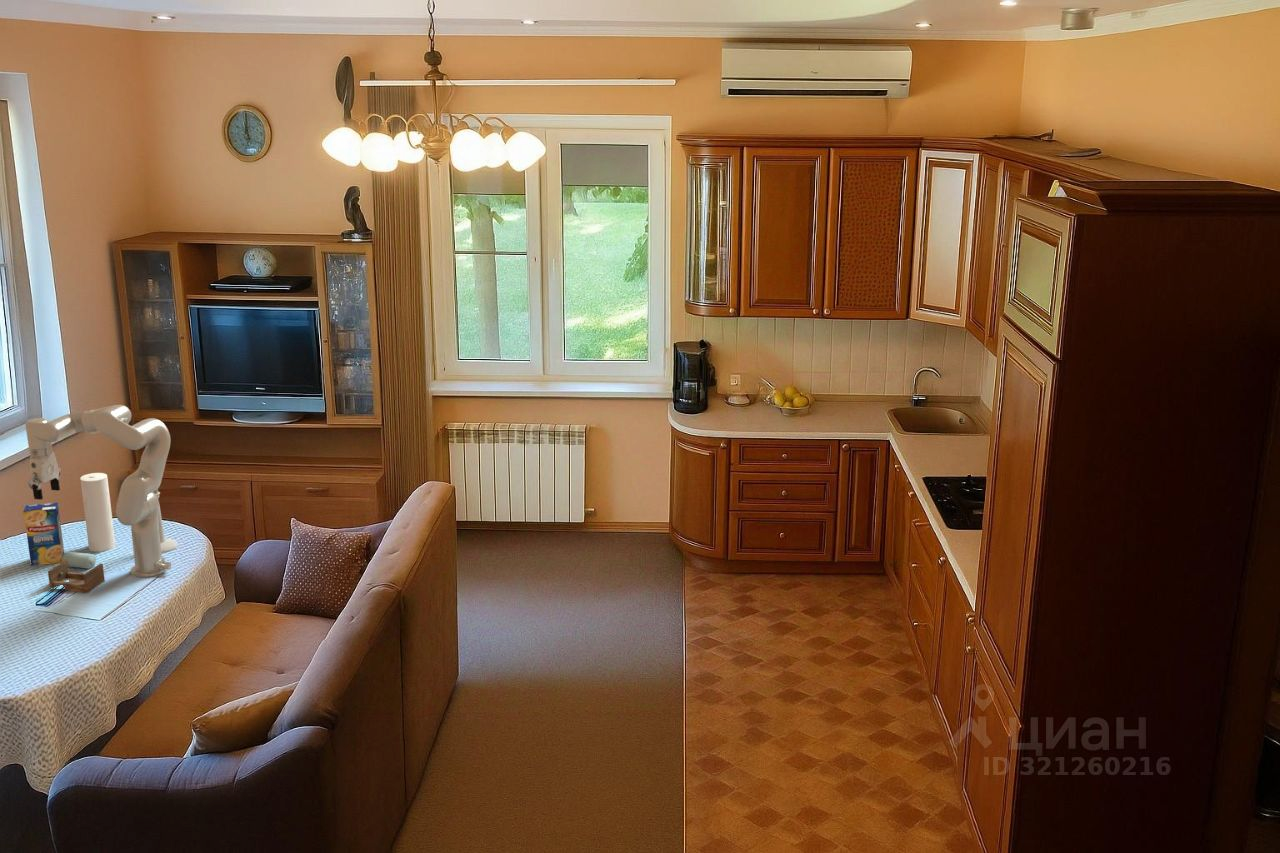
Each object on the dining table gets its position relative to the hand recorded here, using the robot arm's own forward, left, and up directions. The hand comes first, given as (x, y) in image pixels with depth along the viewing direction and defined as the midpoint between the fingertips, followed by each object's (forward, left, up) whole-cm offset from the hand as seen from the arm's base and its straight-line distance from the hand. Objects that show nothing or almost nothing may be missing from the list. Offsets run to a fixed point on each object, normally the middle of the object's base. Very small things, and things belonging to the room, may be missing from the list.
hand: (47, 494), depth 419 cm
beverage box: (+4, -1, -28) cm, 28 cm away
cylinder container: (-8, -17, -28) cm, 34 cm away
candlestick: (-30, -22, -28) cm, 46 cm away
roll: (-11, +2, -28) cm, 30 cm away
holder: (-20, +16, -28) cm, 38 cm away
